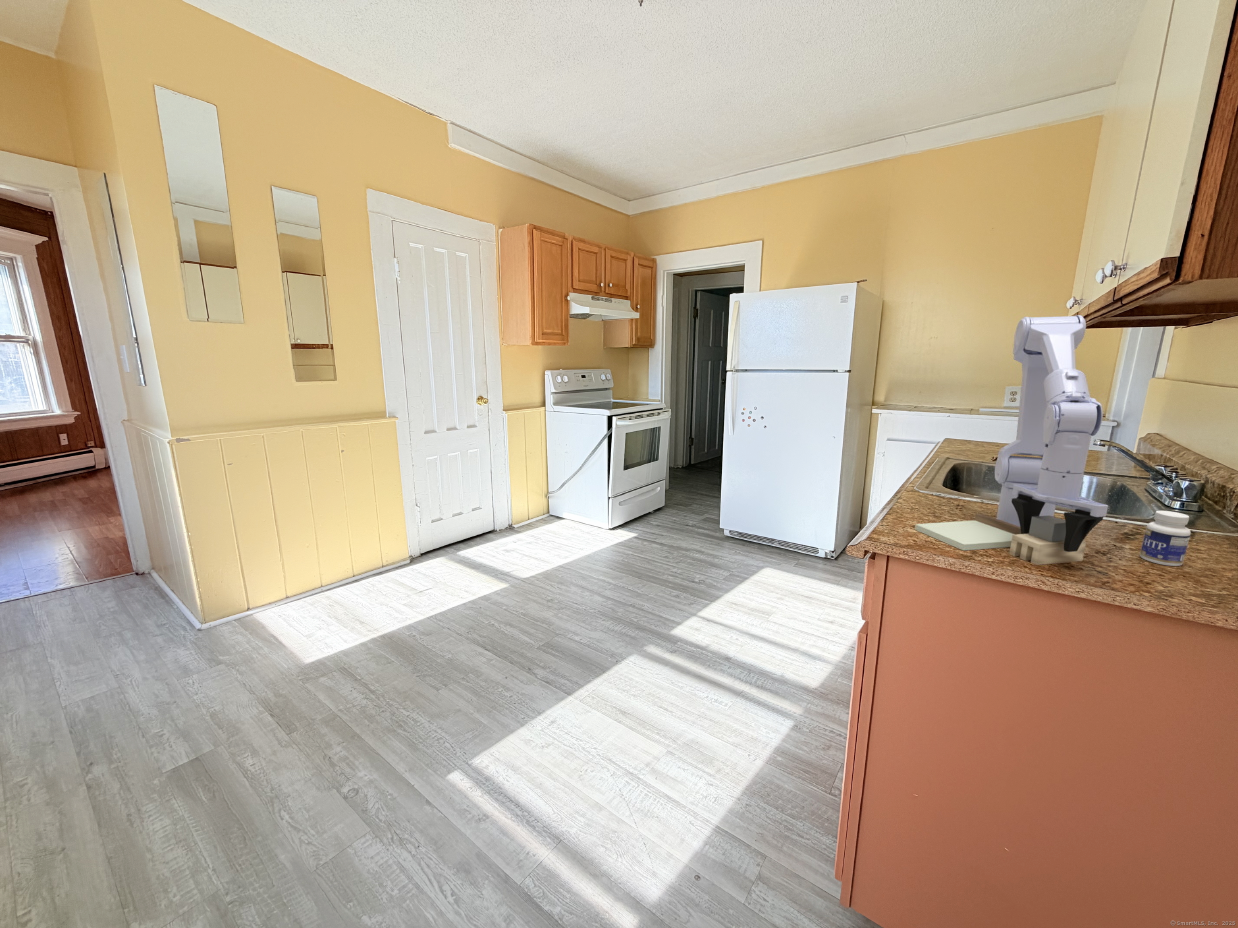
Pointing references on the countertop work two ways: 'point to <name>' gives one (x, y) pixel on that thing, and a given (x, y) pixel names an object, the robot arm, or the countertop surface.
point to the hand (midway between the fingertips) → (1048, 543)
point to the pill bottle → (1166, 539)
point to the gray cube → (1048, 528)
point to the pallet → (1043, 550)
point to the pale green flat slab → (972, 533)
